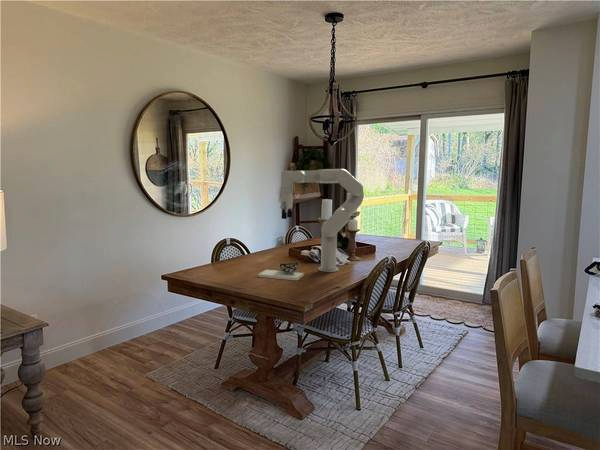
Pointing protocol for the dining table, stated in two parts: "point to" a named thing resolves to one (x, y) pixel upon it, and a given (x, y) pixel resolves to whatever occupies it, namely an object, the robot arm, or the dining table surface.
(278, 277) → the cutting board
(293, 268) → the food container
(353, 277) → the dining table surface
